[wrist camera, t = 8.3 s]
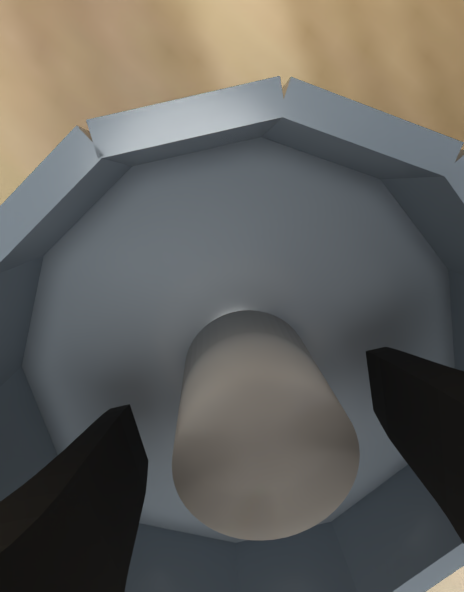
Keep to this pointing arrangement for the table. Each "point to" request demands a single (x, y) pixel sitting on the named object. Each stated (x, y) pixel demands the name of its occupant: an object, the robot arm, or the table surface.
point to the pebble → (259, 432)
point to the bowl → (236, 308)
